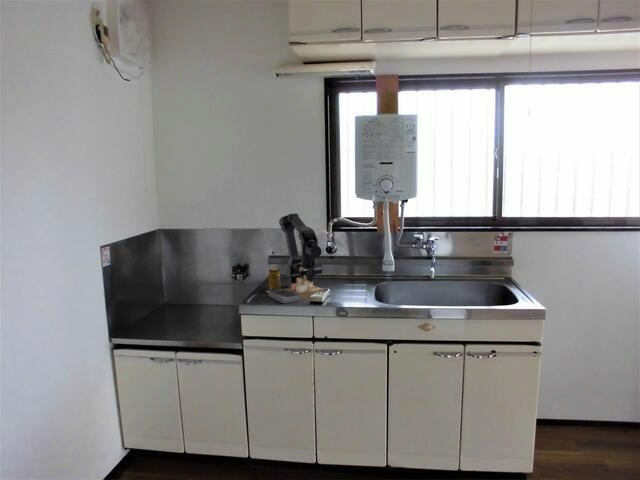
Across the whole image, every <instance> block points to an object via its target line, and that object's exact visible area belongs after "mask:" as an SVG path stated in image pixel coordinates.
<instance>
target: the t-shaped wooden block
mask: <svg viewBox="0 0 640 480" xmlns="http://www.w3.org/2000/svg"><path fill="white" fill-rule="evenodd" d="M296 279H297V283H300V284H302V285H306V286H307V290H312V287H313V286H314V282H313V281H314V280H313V281H312V282H310V281H307V278H306V275H304V279H302V277H301V278H296Z"/></svg>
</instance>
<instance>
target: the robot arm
mask: <svg viewBox="0 0 640 480" xmlns="http://www.w3.org/2000/svg"><path fill="white" fill-rule="evenodd" d="M278 224H279V227H280V229H281V230H282V232H283V233H284V234H285V240H286V245H287V246H286V247H287V250H288V257H289V261H288V263H287V269H286V271H285V275H286V277H287V278H289V285H287V288H290V287H291V284H294V283H297V279H296V278H302V279H304V275H306V278H307V281H310V282H312V281H314V277H315V276H316V275H319V274H320V275H321V274H323V273H324V272H323V265H324V261H322V260H319V259H318V258H319V257H320V256H321V255H322V248H321V247H320V246H319V245H318V244H319V241H318V240H319V239H318V237H317V234H316V232H315V230H314V229H313V228H312V227H309V226H307V225H306V224H305V223H304V222H303V221H302V219H301V218H300V216H299V214H298V213H295V212H294V213H289V214H286V215H284V216H281V217H280V219H279V220H278ZM295 230H296V231H297V232H298V238H299V239H298V240H299V241H300V243H299V244H300V246H301V256H300V255H299V252H298V251H299V250H298V246H297V242H296V236H295Z"/></svg>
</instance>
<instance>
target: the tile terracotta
mask: <svg viewBox="0 0 640 480" xmlns="http://www.w3.org/2000/svg"><path fill="white" fill-rule="evenodd" d="M298 285H302V284H300V283H294V284H291V289H293V290H296V286H298Z"/></svg>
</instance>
